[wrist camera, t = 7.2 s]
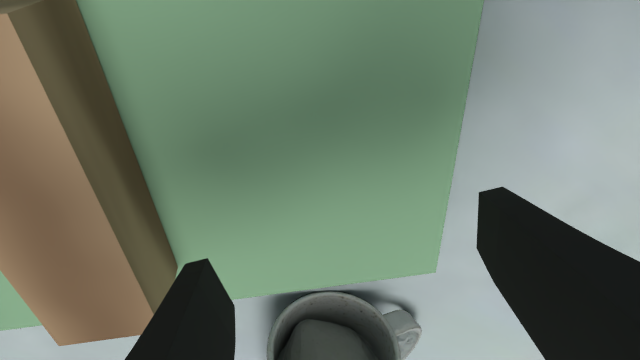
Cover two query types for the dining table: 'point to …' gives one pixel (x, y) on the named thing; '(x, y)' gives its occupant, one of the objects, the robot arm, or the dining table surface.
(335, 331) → the ceramic mug
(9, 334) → the dining table surface
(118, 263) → the block
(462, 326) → the dining table surface
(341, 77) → the putting deck
